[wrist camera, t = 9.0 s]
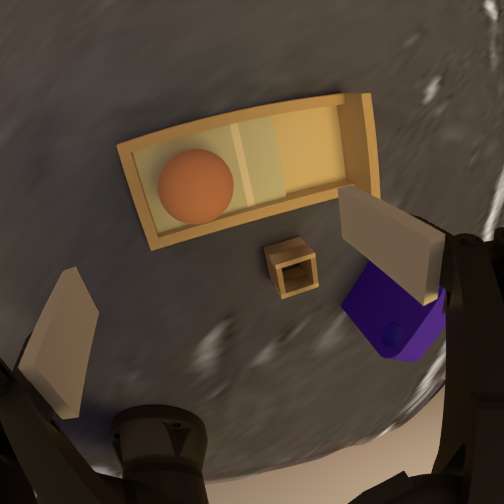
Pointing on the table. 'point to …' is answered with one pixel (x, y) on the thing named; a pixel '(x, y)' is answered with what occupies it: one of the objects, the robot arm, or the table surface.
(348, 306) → the bracket
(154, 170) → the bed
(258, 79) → the table surface
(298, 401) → the table surface
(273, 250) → the open wooden box
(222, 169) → the ball
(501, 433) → the robot arm
